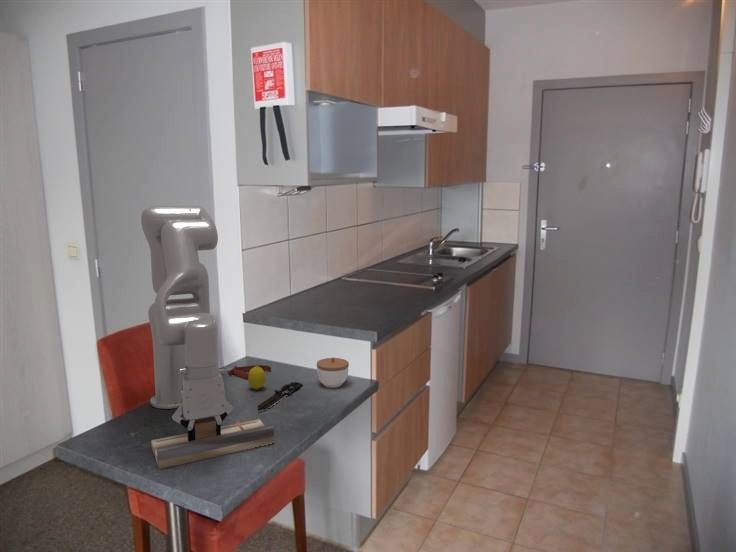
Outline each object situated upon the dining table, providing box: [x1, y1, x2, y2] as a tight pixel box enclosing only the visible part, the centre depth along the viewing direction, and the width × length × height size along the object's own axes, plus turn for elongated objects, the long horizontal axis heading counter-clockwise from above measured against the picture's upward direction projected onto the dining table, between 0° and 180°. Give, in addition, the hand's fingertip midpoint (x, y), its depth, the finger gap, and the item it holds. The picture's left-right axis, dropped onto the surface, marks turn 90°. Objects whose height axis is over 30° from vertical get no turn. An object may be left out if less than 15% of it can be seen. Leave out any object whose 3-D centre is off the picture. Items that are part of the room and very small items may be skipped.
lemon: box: [247, 366, 266, 391], centre depth 177 cm, size 6×6×8 cm
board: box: [150, 418, 275, 470], centre depth 139 cm, size 13×28×4 cm, turn 119°
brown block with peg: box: [193, 416, 216, 440], centre depth 137 cm, size 9×5×6 cm, turn 29°
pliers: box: [218, 364, 272, 381], centre depth 192 cm, size 12×20×3 cm, turn 82°
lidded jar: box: [316, 357, 350, 389], centre depth 183 cm, size 11×11×9 cm
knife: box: [257, 381, 304, 412], centre depth 171 cm, size 25×6×1 cm, turn 154°
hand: (204, 440), depth 135 cm, fingers closed on brown block with peg, 5 cm apart
